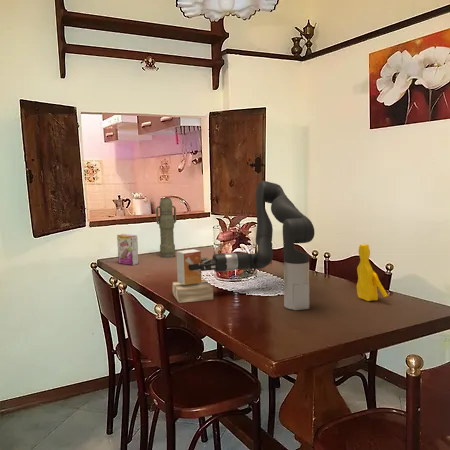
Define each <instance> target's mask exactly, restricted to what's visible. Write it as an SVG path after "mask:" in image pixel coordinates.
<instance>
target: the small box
mask: <svg viewBox="0 0 450 450" xmlns="http://www.w3.org/2000/svg"><path fill="white" fill-rule="evenodd" d="M201 258H202V251H201V250H199V249H198V250H197V249H185V250H177V251H176V274H177V275H176V276H177V282H178V283H180V284H183V285H188V284H194V283H200V282H202V280H203V277H202V271H201V270H199V269H198V270H189V265H191V264H199V263H201Z"/></svg>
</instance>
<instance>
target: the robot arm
mask: <svg viewBox="0 0 450 450" xmlns="http://www.w3.org/2000/svg"><path fill="white" fill-rule="evenodd" d="M265 203H268V204H270V212H271V214H272V215H273V217H274V218H275V220H276V221H278V222H279V223H281V224H282V241H283V244H282V245H283V247H282V248H283V302H284V303H283V304H284V305H283V306H284V308H285V309H289V310H292V311H301V310H309V309H310V255H309V253H307V252H304V251H302V250H298V249H297V248H296V247H295V244H307V243H310V242H312V241H313V240H314V237H315V232H316V231H315V226H314V225H313V223H312V221H311V219H310V218H309V217H307V216H306V215H304V214H303V213H302V212H301V211H300V210H299V209H298V208H297V207H296V206H295V204H294V203H293V202H292V201H291V200H290V198H288V196H287V195H286V193H285V191H284V189H283V188H282V186H281V185H280V184H278V183H274V182H270V181H266V180H260V181H259V183H257V186H256V189H255V208H256V209H255V211H256V213H255V214H256V231H255V232H256V234H255V243H256V245H257V251H256V252H255V253H248V252H244V251H243V252H241V251H240V252H223V253H222V252H221V253H214V254H213V255H212V258H209V257H201V263H199V264H191V265H189V270H198V269H199V270H201V272H206V271H214V272H215V273H220V272H231V271H237V270H244V269H248V270H249V269H250V270H260V269H264V268H266V267H267V266H268V265H270V264H271V263H272V262H273V257H274V251H273V249H274V248H273V244H272V242H273V232H274V231H273V230H274V229H273V224H272V221H271V219H270V217H269V214H268V212H267V210H266V205H265Z"/></svg>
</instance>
